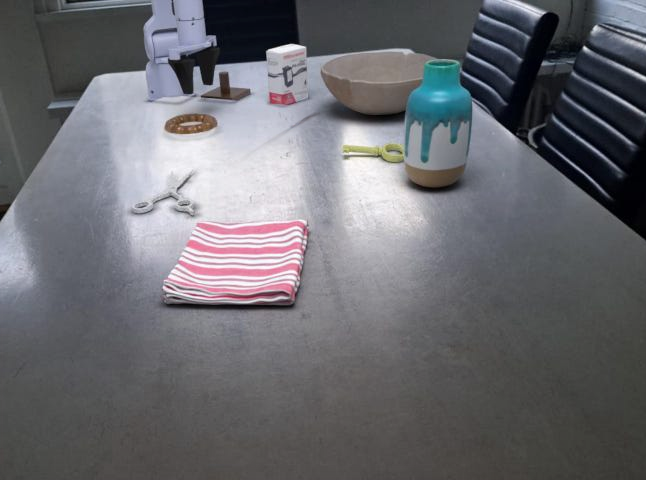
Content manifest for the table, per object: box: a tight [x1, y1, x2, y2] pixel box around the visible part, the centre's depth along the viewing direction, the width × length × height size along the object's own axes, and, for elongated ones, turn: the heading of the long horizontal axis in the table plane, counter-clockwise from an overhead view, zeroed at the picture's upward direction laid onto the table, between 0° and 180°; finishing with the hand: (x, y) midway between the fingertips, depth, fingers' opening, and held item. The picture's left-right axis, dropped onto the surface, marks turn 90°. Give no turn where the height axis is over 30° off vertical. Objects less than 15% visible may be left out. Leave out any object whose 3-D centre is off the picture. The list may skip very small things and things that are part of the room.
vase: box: [402, 58, 473, 188], centre depth 110 cm, size 11×11×19 cm
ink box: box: [265, 43, 309, 106], centre depth 160 cm, size 8×5×12 cm, turn 134°
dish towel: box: [161, 218, 310, 306], centre depth 93 cm, size 17×23×4 cm
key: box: [342, 142, 404, 163], centre depth 127 cm, size 7×12×2 cm, turn 102°
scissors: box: [131, 170, 195, 216], centre depth 117 cm, size 11×1×20 cm
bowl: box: [320, 51, 438, 116], centre depth 149 cm, size 26×26×10 cm
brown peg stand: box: [199, 71, 252, 101], centre depth 168 cm, size 9×9×6 cm
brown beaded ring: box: [163, 112, 219, 135], centre depth 146 cm, size 11×11×3 cm
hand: (198, 89), depth 145 cm, fingers open, 7 cm apart
